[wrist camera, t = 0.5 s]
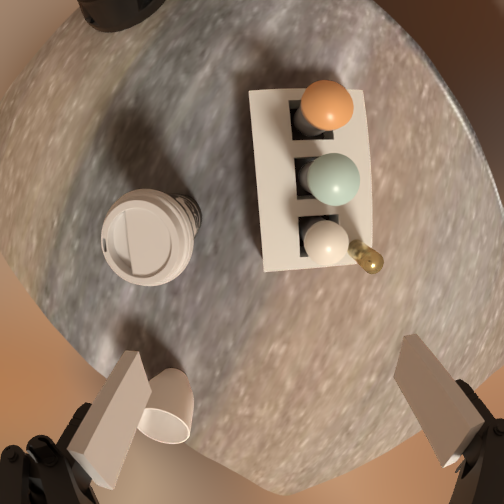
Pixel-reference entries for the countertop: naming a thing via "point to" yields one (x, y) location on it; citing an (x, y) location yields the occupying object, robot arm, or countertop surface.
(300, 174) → the knob
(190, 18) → the countertop surface
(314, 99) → the knob
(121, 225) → the coffee cup
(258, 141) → the panel
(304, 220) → the knob
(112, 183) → the countertop surface
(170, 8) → the countertop surface
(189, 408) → the mug
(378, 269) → the cylinder
